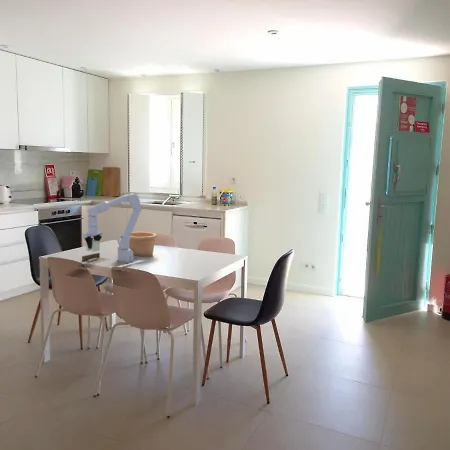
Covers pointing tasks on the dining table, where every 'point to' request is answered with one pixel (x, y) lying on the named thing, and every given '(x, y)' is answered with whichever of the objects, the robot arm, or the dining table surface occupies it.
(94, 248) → the sage block
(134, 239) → the pottery
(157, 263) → the dining table surface
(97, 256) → the cleat board
